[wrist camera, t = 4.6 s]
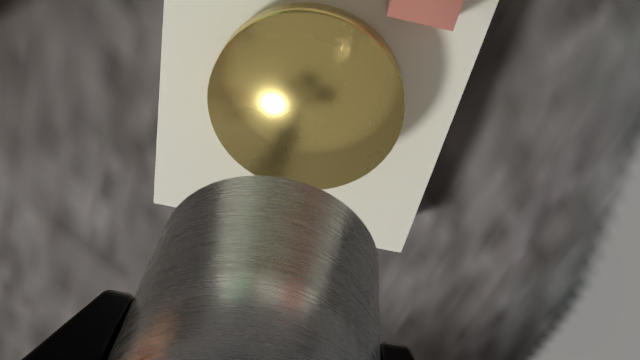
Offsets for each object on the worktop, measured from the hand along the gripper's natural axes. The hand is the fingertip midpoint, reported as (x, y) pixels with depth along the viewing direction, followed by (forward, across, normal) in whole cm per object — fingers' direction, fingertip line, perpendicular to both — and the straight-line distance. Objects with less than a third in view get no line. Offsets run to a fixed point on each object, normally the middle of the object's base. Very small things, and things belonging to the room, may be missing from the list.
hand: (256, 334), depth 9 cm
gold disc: (+8, 0, 0) cm, 8 cm away
